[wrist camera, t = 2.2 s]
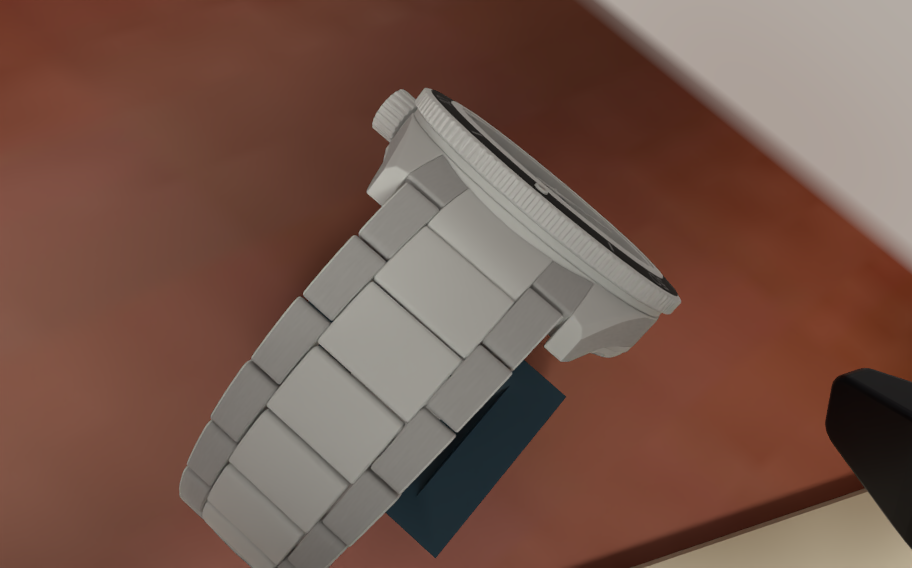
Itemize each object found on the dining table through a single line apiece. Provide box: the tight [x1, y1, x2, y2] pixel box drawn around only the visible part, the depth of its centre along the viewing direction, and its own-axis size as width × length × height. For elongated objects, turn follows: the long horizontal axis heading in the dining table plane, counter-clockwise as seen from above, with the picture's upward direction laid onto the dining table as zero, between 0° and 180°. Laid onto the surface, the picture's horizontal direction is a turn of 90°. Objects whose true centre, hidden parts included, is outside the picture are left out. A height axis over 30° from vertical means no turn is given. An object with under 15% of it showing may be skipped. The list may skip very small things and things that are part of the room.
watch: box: [179, 88, 681, 568], centre depth 13 cm, size 6×8×11 cm
